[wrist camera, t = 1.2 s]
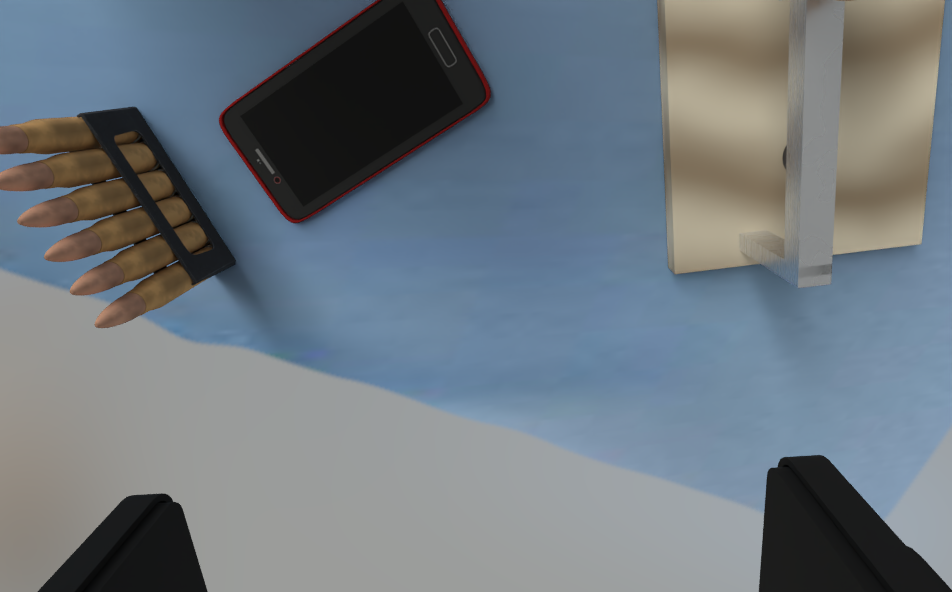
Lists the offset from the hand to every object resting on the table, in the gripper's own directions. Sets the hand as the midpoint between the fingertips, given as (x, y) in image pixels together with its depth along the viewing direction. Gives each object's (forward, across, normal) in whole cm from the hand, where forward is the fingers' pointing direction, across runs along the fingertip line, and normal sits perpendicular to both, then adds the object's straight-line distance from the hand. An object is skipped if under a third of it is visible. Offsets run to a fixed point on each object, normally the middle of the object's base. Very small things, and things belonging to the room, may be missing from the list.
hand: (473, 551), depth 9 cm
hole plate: (+28, -17, -8) cm, 34 cm away
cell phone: (+29, +8, -7) cm, 31 cm away
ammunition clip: (+29, +19, -3) cm, 35 cm away
